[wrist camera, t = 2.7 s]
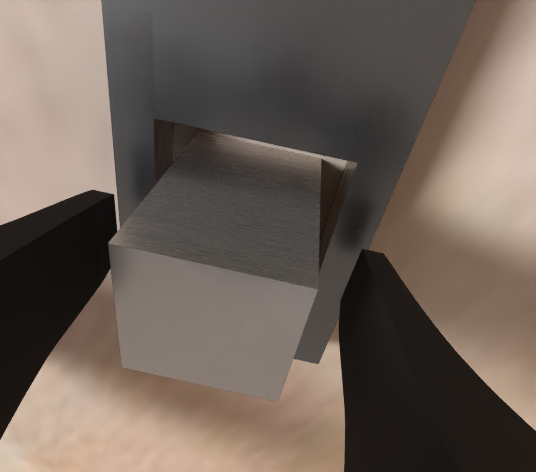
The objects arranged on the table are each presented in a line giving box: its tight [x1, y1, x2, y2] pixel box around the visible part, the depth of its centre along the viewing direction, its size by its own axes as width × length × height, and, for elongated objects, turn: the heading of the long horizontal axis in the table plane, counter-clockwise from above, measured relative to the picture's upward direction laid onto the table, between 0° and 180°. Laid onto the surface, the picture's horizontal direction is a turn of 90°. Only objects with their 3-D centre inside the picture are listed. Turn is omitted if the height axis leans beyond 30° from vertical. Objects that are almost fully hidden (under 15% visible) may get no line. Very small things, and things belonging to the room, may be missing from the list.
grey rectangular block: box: [108, 132, 321, 402], centre depth 10 cm, size 4×4×6 cm
